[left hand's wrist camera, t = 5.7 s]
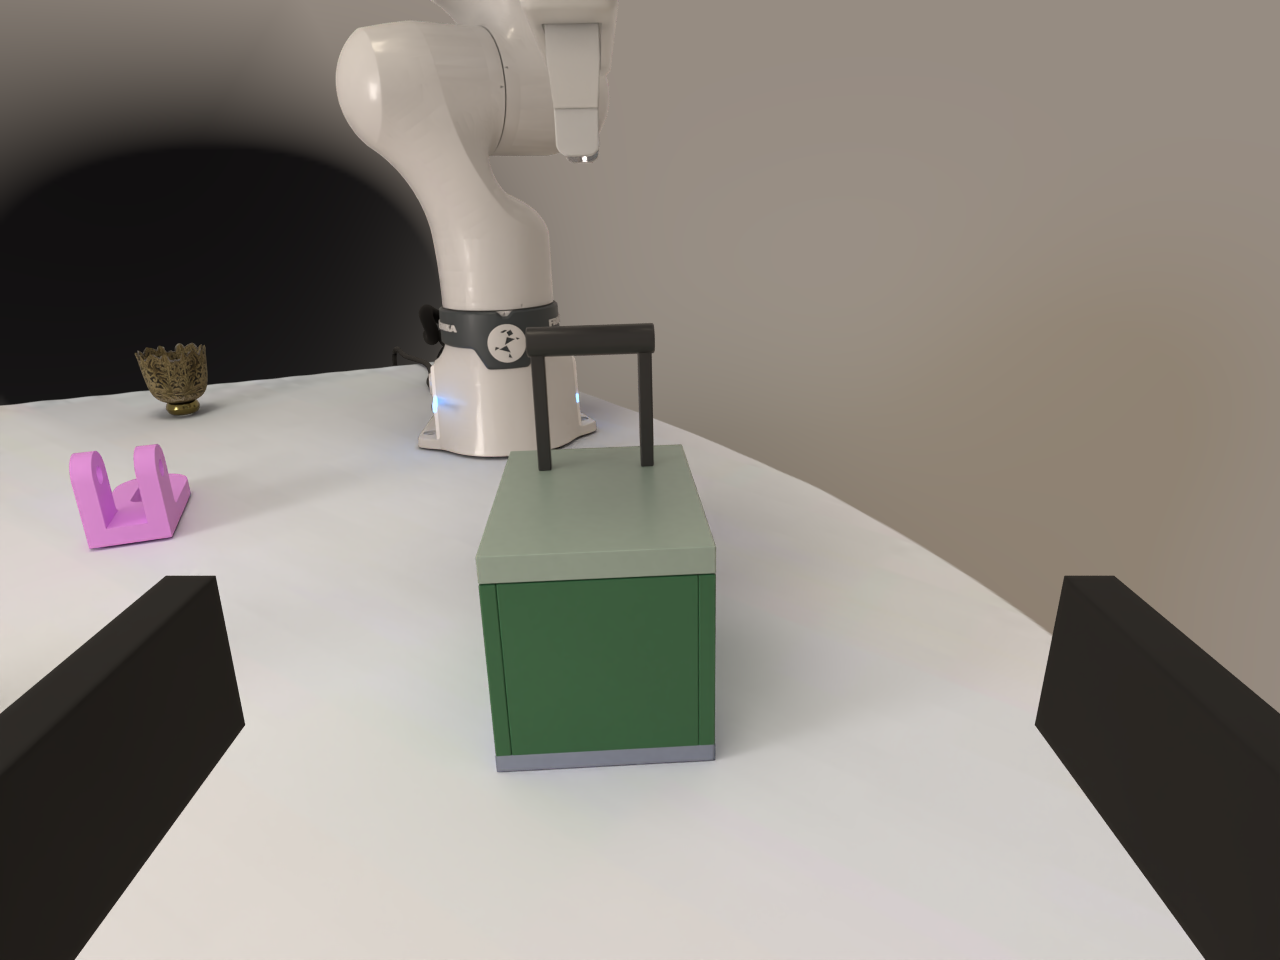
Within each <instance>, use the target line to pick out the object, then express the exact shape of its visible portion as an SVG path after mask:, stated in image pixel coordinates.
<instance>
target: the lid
mask: <svg viewBox="0 0 1280 960" xmlns="http://www.w3.org/2000/svg"><path fill="white" fill-rule="evenodd" d="M525 339H526V352H527V356H528V357H530V359H531V373H532V387H533V401H534V415H535V429H536V443H537V450H532V451H511V452H510V454H509V457H508V461H507V464H506V467H505V470H504V473H503V476H502V479H501V482H500V485H499V488H498V491H497V494H496V497H495V500H494V503H493V506H492V509H491V512H490V515H489V518H488V521H487V524H486V527H485V530H484V533H483V536H482V539H481V542H480V545H479V549H478V552H477V555H476V568H477V577H478V584H489V583H511V582H533V581H555V580H577V579H599V578H621V577H642V576H664V575H686V574H708V573H716V546H715V543H714V540H713V537H712V534H711V531H710V528H709V525H708V522H707V519H706V516H705V513H704V510H703V507H702V504H701V501H700V498H699V495H698V492H697V489H696V486H695V483H694V480H693V477H692V474H691V471H690V468H689V465H688V462H687V459H686V456H685V453H684V450H683V447H682V445H658V446H653V400H652V353H654V351H655V334H654V325H653V323H642V324H613V325H583V326H553V327H527V328H526V332H525ZM614 354H638V390H639V428H640V446H633V447H607V448H582V449H557V450H551V442H550V427H549V411H548V396H547V381H546V365H545V357H557V356H585V355H614Z"/></svg>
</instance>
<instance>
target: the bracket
mask: <svg viewBox="0 0 1280 960" xmlns="http://www.w3.org/2000/svg"><path fill="white" fill-rule="evenodd" d="M134 468H135V474H136V478H137V479H133V480H130V481H128V482H125V483H123V484H121V485H119V486H117V487H116V488H115V489H114V491H113V492H111V488H110V484H109V480H108V476H107V472H106V468H105V465H104V462H103V459H102V457H101V455H100V454H99V453H98V452H97V451H91V452H83V453H74V454H72V455H71V458H70V463H69V471H70V479H71V483H72V487H73V491H74V494H75V498H76V502H77V505H78V509H79V513H80V516H81V520H82V523H83V527H84V531H85V534H86V538H87V541H88V545H89V549H92V548H99V547H106V546H112V545H119V544H126V543H133V542H140V541H147V540H154V539H161V538H168V537H172V536H173V533H174V531H175V529H176V526H177V524H178V522H179V519H180V517H181V515H182V513H183V510H184V508H185V506H186V503H187V501H188V499H189V496H190V494H191V493H190V488H189V484H188V480H187V477H186V476H184V475H181V474H168V470H167V466H166V461H165V457H164V454H163V451H162V449H161V447H160V446H159V445H158V444H154V445H145V446H137V447H135V450H134Z"/></svg>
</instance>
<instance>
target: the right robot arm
mask: <svg viewBox="0 0 1280 960" xmlns="http://www.w3.org/2000/svg"><path fill="white" fill-rule="evenodd" d="M430 1H432V2H433V3H435V4H436V5H438V6H439V7H440V8H442V9H443V10H444V11H445V12H446V13H447V14H448V15H449V16H450V17H451V18H452V19H453V20H454V22H455V23H456V24H445V23H434V22H422V21H410V20H408V21H400V22H392V23H384V24H378V25H373V26H367V27H362V28H358V29H356V30H355V31H354V32H353V33H352V34H351V36H350V37H349V38H348V40H347V41H346V43H345V45H344V47H343V49H342V51H341V53H340V56H339V59H338V63H337V69H336V89H337V95H338V100H339V104H340V107H341V109H342V112H343V114H344V116H345V118H346V120H347V122H348V124H349V125H350V127H351V128H352V129H353V131H354V132H355V133H356V135H357V136H358V137H359V138H360V139H361V140H362V141H363V142H364V143H365V144H366V145H367V146H369V147H370V148H372V149H373V150H375V151H376V152H377V153H379V154H380V155H381V156H383V157H384V158H385V159H386V160H387V161H388V162H390V163H391V164H392V165H393V166H394V167H395V168H396V169H397V170H398V172H399V173H400V174H401V175H402V176H403V178H404V179H405V180H406V181H407V183H408V184H409V186H410V187H411V188H412V190H413V191H414V193H415V195H416V196H417V198H418V200H419V202H420V204H421V206H422V208H423V210H424V212H425V214H426V217H427V220H428V222H429V225H430V229H431V233H432V237H433V242H434V247H435V252H436V258H437V264H438V270H439V277H440V285H441V293H442V303H443V305H442V306H441V307H440V309H439V317H440V319H439V328H440V330H441V339H442V342H443V343H444V344H445V347H444V349H443V352H442V354H441V355H440V357H439V358H438V359H437V360H436V361H435V363H434V365H433V366H431V364H430V363H429V362H427V361H425V360H423V359H420V358H417V357H414V356H410V355H408V354H406V353H405V352H403V350H402V349H401V348H399V347H395V348H394V349H393V353H392V362H393V366H397V352H398V353H399V354H400V355H401V356H402V357H404V358H406V359H408V360H412V361H415V362H418V363H421V364H423V365H425V366H426V367H427V368H428V372H429V376H428V378H427V385H428V386H429V388H430V393H431V395H433V401H432V411H433V413H434V415H433V417H432V418H431V420H430V421H429V422H428V424H427V425H426V427H425V428H424V430H423V431H422V433H421V434H420V435H419V437H418V446H419V447H421V448H429V449H442V450H447V451H450V452H454V453H458V454H463V455H470V456H484V457H499V456H509V454H510V452H511V451H532V450H537V443H536V429H535V415H534V401H533V387H532V373H531V359H530V357H528V356H527V352H526V339H525V332H526V328H527V327H553V326H559V322H560V316H559V314H558V306H557V302H555V301H554V300H553V290H552V273H551V257H550V240H549V232H548V229H547V226H546V224H545V222H544V221H543V219H542V218H541V216H540V215H539V214H538V213H537V212H536V211H535V210H534V209H533V208H532V207H530V206H529V205H528V204H526V203H524V202H523V201H521V200H519V199H517V198H515V197H513V196H511V195H509V194H507V193H505V192H504V190H503V189H502V188H501V187H500V185H499V184H498V182H497V181H496V179H495V177H494V174H493V172H492V169H491V165H490V160H489V156H549V155H553V154H557V153H561V154H563V155H564V156H566V158H567V160H568V161H569V162H571V163H593V162H595V161H596V160H597V159H598V156H599V145H600V140H599V133H600V131H601V129H602V127H603V125H604V122H605V120H606V117H607V113H608V108H609V84H608V79H607V74H608V73H609V72H610V70H611V62H612V54H613V45H614V36H615V28H616V19H617V11H618V2H619V0H430ZM545 365H546V381H547V396H548V411H549V427H550V442H551V449H554V448H557V447H560V446H563V445H565V444H567V443H569V442H571V441H572V440H574V439H575V438H577V437H579V436H581V435H585V434H588V433H591V432H594V431H596V430H597V428H596V422H595V420H593V419H592V418H590V417H588V416H587V415H585V414H583V413H581V412H580V403H579V392H578V382H577V371H576V362H575V358H574V356H557V357H545Z"/></svg>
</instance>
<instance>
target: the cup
mask: <svg viewBox="0 0 1280 960" xmlns="http://www.w3.org/2000/svg"><path fill="white" fill-rule="evenodd" d="M175 350H176V351H174V352H173V351H169V352H166V351H165V350H164V347H162V346H158V348H157V351H156V350H155V349H152V348H145V350H144V352H143V354H142V352H139V351H137V352H138V354H137V353H135V356H136V358H137V361H138V363H139V366H140V369H141V371H142V374H143V377H144V379H145V382H146V384H147V387H148V389H149V390H150V392H151V393H152V395H153V396H154V397H155V398H156V399H158V400H160V401H162V402H166V403H167V405H166V410H167V411H168V412H169V413H170V414H172V415H187V414H192V413H194V412H196V411H198V410H199V407H200V403H199V402H198V400H197V398H199V397H200V396H202V395H203V393H204V392H205V390H206V387H207V364H206V353H205V350H206V349H205V346H203V347H202V345H200V346H199V348H197V346H196V345H195V344H193V343H190V344H188V345H186V346H185V347H184V346H183V345H182V344H180V343H178V344H177V345H176V346H175Z"/></svg>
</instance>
